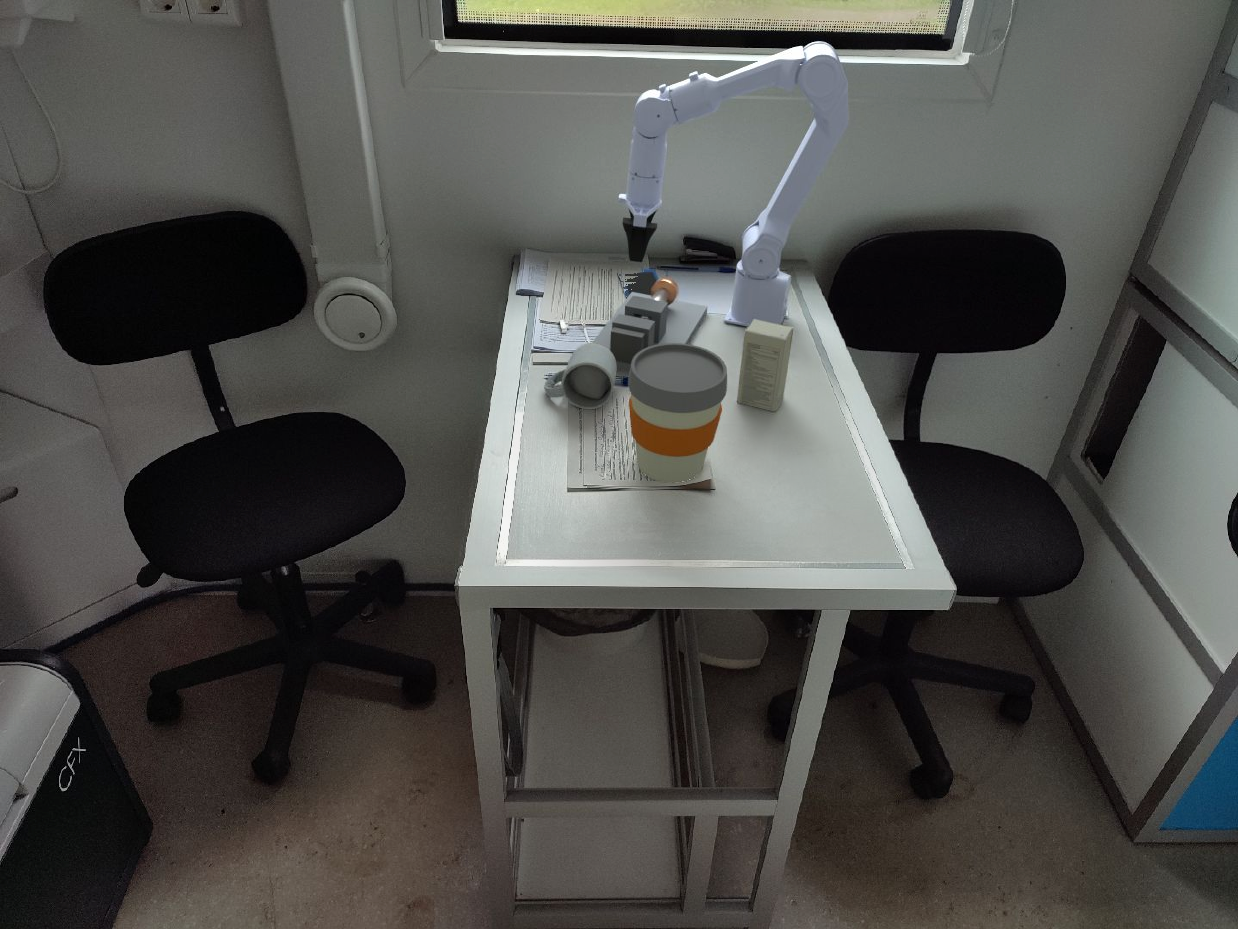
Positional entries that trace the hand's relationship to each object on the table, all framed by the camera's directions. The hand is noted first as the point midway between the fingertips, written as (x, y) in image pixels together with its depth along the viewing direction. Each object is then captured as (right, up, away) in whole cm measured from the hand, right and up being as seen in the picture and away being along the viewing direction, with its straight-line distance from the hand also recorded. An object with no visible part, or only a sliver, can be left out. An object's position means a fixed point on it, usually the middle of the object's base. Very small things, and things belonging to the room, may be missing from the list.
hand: (637, 251), depth 146 cm
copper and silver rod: (+3, -11, -1) cm, 12 cm away
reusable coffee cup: (+4, -36, -30) cm, 47 cm away
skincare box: (+18, -27, -16) cm, 36 cm away
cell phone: (+1, -4, +13) cm, 14 cm away
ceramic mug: (-9, -26, -17) cm, 32 cm away
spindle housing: (+2, -15, -2) cm, 15 cm away
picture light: (-11, -14, 0) cm, 17 cm away
